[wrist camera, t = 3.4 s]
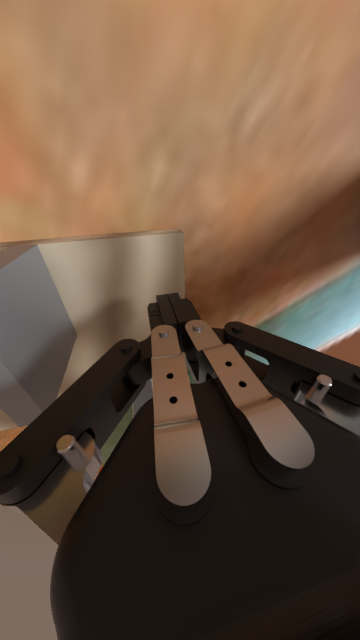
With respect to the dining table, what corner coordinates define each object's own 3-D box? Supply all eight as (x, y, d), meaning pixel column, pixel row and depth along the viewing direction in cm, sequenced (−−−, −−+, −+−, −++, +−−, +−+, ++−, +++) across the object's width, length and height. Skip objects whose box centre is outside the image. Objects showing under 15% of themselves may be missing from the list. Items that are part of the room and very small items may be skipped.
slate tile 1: (37, 244, 13) (-48, 302, 7) (77, 335, 18) (49, 420, 11) (6, 246, 13) (-112, 310, 6) (55, 338, 17) (14, 427, 11)
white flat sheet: (179, 228, 16) (183, 232, 15) (184, 381, 28) (186, 390, 26) (-238, 261, 12) (-280, 270, 11) (-26, 425, 23) (-34, 438, 22)
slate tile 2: (147, 347, 20) (156, 421, 14) (155, 392, 25) (164, 463, 19) (129, 350, 20) (130, 428, 14) (140, 395, 25) (145, 469, 18)
